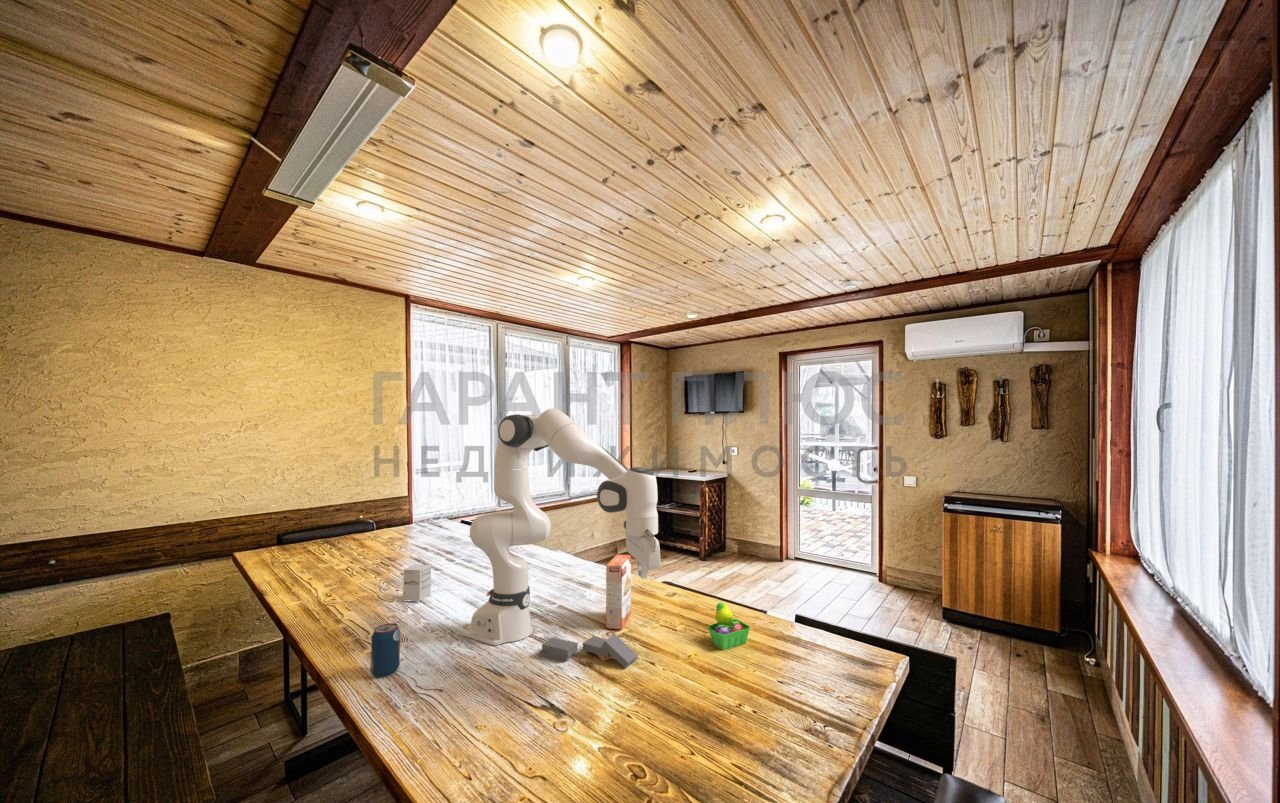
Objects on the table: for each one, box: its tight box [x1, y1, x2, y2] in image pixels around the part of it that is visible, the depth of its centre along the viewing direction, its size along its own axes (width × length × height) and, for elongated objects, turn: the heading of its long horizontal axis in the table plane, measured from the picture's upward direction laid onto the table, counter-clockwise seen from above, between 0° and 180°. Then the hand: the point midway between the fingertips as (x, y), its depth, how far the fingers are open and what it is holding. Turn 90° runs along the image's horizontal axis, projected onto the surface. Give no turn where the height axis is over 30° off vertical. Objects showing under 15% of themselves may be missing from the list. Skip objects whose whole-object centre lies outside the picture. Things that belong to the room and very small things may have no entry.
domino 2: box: [538, 649, 576, 662], centre depth 136 cm, size 2×5×9 cm
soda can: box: [370, 622, 401, 679], centre depth 128 cm, size 7×7×12 cm
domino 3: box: [582, 636, 611, 657], centre depth 136 cm, size 2×5×9 cm
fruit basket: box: [707, 602, 751, 651], centre depth 143 cm, size 11×9×11 cm
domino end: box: [602, 633, 638, 669], centre depth 132 cm, size 2×5×9 cm
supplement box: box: [402, 563, 432, 601], centre depth 183 cm, size 7×7×13 cm
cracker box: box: [605, 554, 632, 630], centre depth 161 cm, size 14×6×21 cm, turn 168°
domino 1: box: [541, 637, 578, 658], centre depth 136 cm, size 2×5×9 cm
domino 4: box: [595, 654, 615, 661], centre depth 138 cm, size 2×5×9 cm
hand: (642, 577), depth 129 cm, fingers closed
